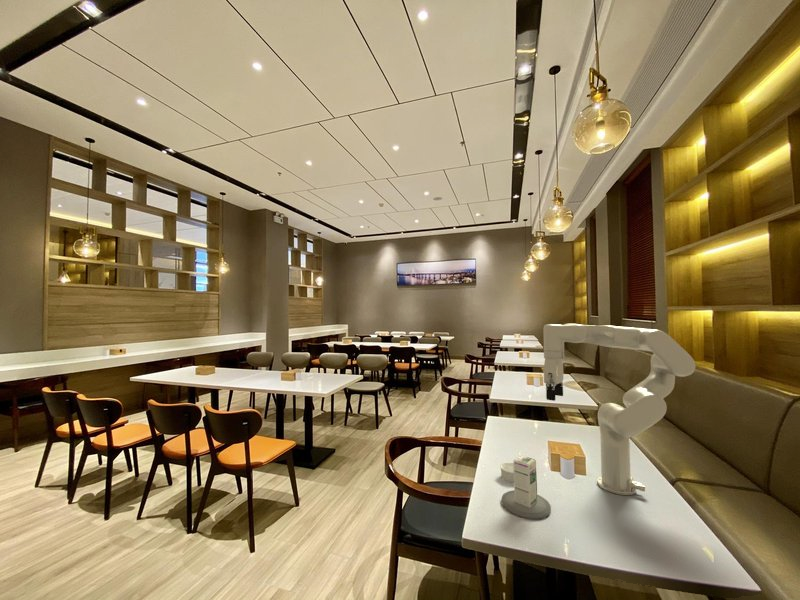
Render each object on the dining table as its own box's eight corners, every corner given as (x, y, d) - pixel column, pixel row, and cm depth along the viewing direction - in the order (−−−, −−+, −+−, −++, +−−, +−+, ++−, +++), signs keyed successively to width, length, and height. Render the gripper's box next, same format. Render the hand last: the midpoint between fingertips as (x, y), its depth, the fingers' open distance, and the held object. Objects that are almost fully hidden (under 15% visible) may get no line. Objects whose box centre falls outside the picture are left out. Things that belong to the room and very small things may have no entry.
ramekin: (525, 484, 130) (524, 473, 130) (501, 482, 132) (501, 471, 132) (521, 474, 138) (521, 463, 139) (499, 471, 140) (499, 461, 140)
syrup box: (530, 508, 111) (529, 464, 112) (513, 501, 115) (513, 459, 116) (537, 502, 115) (536, 459, 116) (521, 495, 119) (520, 454, 120)
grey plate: (557, 504, 116) (557, 501, 116) (541, 526, 104) (540, 522, 104) (512, 488, 126) (512, 485, 126) (493, 506, 115) (493, 502, 115)
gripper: (551, 352, 142) (552, 392, 141) (536, 356, 129) (537, 400, 129) (570, 353, 137) (571, 395, 136) (557, 357, 124) (558, 403, 123)
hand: (554, 397), depth 132 cm, fingers open, 9 cm apart
